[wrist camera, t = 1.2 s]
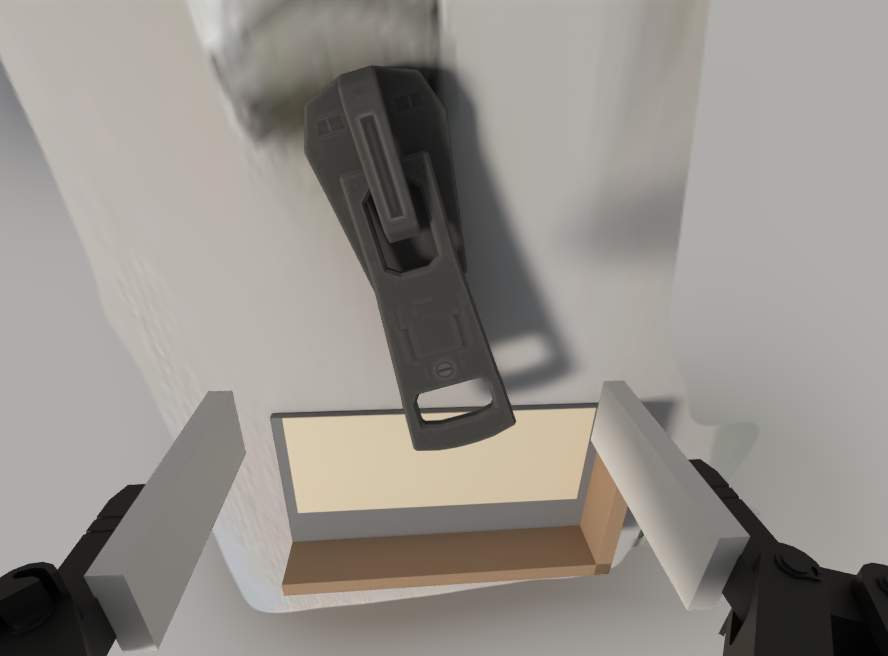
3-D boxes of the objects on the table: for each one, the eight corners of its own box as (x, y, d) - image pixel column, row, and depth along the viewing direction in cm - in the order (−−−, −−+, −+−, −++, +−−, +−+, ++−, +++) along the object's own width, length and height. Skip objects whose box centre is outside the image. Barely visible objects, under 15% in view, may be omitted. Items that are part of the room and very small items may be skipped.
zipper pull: (409, 462, 33) (259, 89, 21) (408, 408, 39) (289, 94, 27) (527, 431, 32) (437, 35, 21) (508, 381, 38) (429, 51, 27)
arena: (271, 413, 37) (254, 455, 33) (619, 402, 40) (647, 439, 36) (295, 546, 45) (284, 595, 40) (589, 530, 47) (608, 573, 43)
